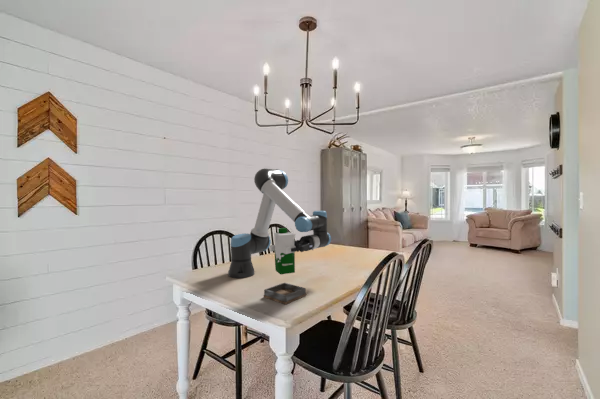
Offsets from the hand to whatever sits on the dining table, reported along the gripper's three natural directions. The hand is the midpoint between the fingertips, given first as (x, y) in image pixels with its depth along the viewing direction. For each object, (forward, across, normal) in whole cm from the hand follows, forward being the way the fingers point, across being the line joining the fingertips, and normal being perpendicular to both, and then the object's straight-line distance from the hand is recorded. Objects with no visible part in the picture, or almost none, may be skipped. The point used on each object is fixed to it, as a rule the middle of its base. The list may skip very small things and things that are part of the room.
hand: (277, 249), depth 133 cm
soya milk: (-5, 0, -11) cm, 12 cm away
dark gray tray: (-5, 0, -23) cm, 23 cm away
